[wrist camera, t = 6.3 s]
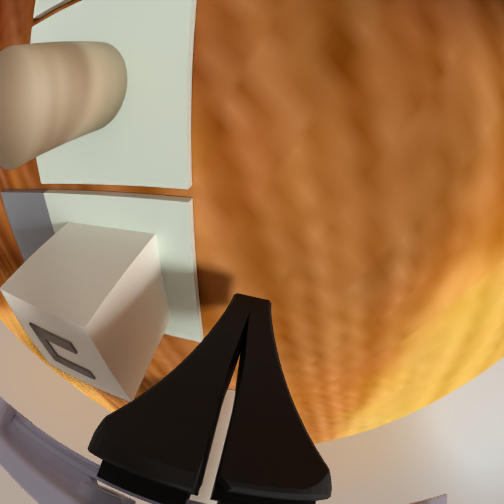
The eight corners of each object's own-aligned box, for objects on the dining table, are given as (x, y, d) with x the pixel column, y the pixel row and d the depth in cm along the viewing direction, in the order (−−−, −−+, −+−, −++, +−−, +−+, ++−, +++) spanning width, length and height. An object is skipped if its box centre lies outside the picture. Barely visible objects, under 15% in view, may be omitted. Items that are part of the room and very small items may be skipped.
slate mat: (41, 289, 16) (38, 292, 15) (5, 189, 11) (0, 192, 11) (87, 305, 15) (84, 310, 15) (48, 189, 11) (43, 192, 10)
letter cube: (94, 298, 14) (48, 366, 10) (68, 222, 11) (-2, 290, 7) (171, 318, 13) (131, 404, 9) (155, 233, 10) (83, 330, 6)
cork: (62, 135, 8) (-13, 172, 5) (58, 54, 6) (-23, 70, 3) (129, 128, 8) (44, 166, 5) (129, 32, 6) (38, 25, 3)
